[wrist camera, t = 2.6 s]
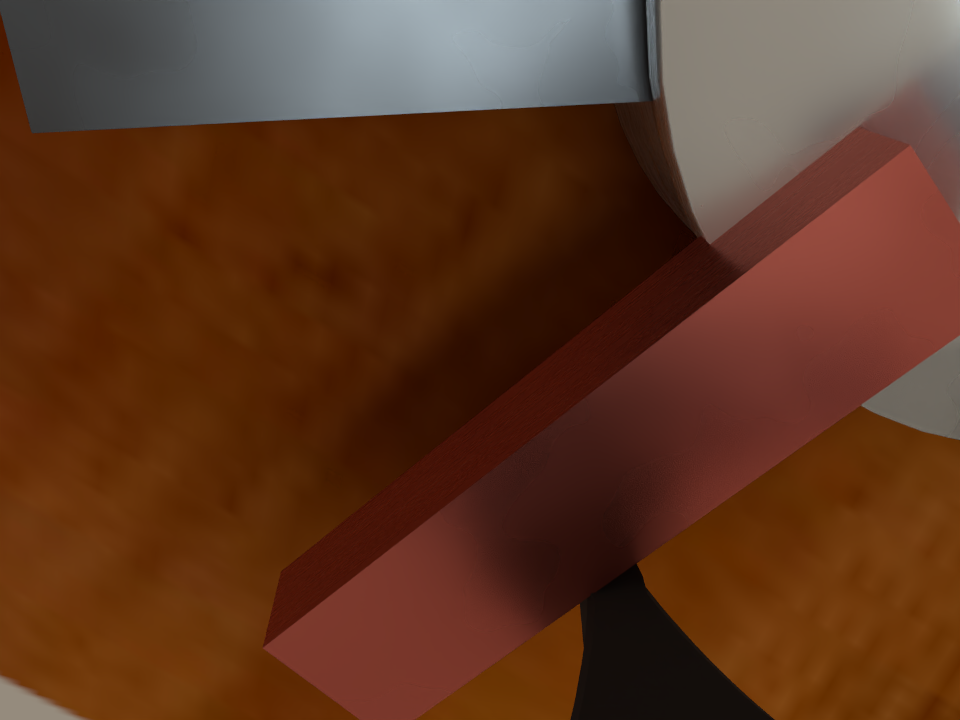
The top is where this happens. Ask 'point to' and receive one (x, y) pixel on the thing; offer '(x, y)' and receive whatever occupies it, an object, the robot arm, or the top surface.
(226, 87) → the pot
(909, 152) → the lid
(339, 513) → the top surface
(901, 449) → the top surface
